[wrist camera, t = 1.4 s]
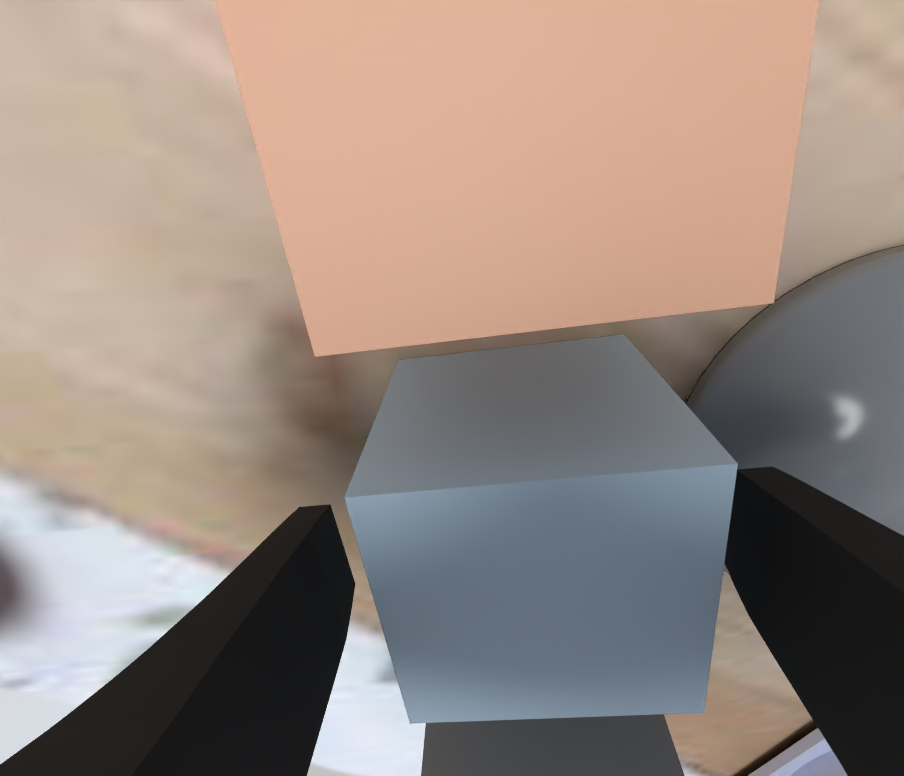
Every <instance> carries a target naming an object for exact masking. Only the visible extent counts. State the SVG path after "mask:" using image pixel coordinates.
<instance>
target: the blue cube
mask: <svg viewBox="0 0 904 776" xmlns="http://www.w3.org/2000/svg"><path fill="white" fill-rule="evenodd" d="M737 467H738V463H737V462H736V461H735V460H734V459H733V458H732V456H731V455H730V454H729V453H728V452H727V451H726V450H725V448H724V447H723V446H722V445H721V444H720V443H719V442H718V440H717V439H716V438H715V437H714V436H713V435H712V434H711V432H710V431H709V430H708V429H707V428H706V427H705V426H704V424H703V423H702V422H701V421H700V420H699V419H698V418H697V416H696V415H695V414H694V413H693V412H692V411H691V410H690V408H689V407H688V406H687V405H686V404H685V403H684V402H683V401H682V399H681V398H680V397H679V396H678V395H677V394H676V393H675V391H674V390H673V389H672V388H671V387H670V386H669V385H668V383H667V382H666V381H665V380H664V379H663V378H662V377H661V375H660V374H659V373H658V372H657V371H656V370H655V369H654V367H653V366H652V365H651V364H650V363H649V362H648V361H647V359H646V358H645V357H644V356H643V355H642V354H641V353H640V351H639V350H638V349H637V348H636V347H635V346H634V345H633V343H632V342H631V341H630V340H629V339H628V338H627V337H626V335H625V334H620V335H611V336H602V337H594V338H585V339H576V340H567V341H559V342H550V343H541V344H533V345H524V346H515V347H506V348H498V349H489V350H480V351H471V352H463V353H454V354H445V355H437V356H428V357H419V358H410V359H402V360H398V362H397V365H396V367H395V370H394V373H393V375H392V378H391V380H390V383H389V385H388V388H387V390H386V393H385V395H384V398H383V400H382V403H381V405H380V408H379V411H378V413H377V416H376V418H375V421H374V423H373V426H372V428H371V431H370V433H369V436H368V438H367V441H366V443H365V446H364V449H363V451H362V454H361V456H360V459H359V461H358V464H357V466H356V469H355V471H354V474H353V476H352V479H351V481H350V484H349V487H348V489H347V492H346V494H345V497H344V499H345V503H346V506H347V509H348V513H349V516H350V520H351V523H352V526H353V530H354V533H355V537H356V540H357V544H358V547H359V550H360V554H361V557H362V561H363V564H364V568H365V571H366V574H367V578H368V581H369V585H370V588H371V591H372V595H373V598H374V602H375V605H376V609H377V612H378V615H379V619H380V622H381V626H382V629H383V633H384V636H385V639H386V643H387V646H388V650H389V653H390V656H391V660H392V663H393V667H394V670H395V674H396V677H397V680H398V684H399V687H400V691H401V694H402V698H403V701H404V704H405V708H406V711H407V715H408V718H409V721H410V723H436V722H464V721H491V720H519V719H546V718H573V717H601V716H628V715H656V714H683V713H704V708H705V701H706V693H707V686H708V679H709V671H710V664H711V657H712V649H713V642H714V635H715V628H716V620H717V613H718V606H719V598H720V591H721V584H722V576H723V569H724V562H725V554H726V547H727V540H728V532H729V525H730V518H731V510H732V503H733V496H734V488H735V481H736V474H737Z"/></svg>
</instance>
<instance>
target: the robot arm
mask: <svg viewBox="0 0 904 776" xmlns="http://www.w3.org/2000/svg"><path fill="white" fill-rule="evenodd" d="M724 563H725V565H726V568H727V570H728V572H729V574H730V577H731V579H732V581H733V583H734V586H735V588H736V590H737V592H738V594H739V596H740V598H741V600H742V602H743V604H744V606H745V609H746V611H747V613H748V615H749V617H750V618H751V620H752V622H753V623H754V625H755V627H756V628H757V630H758V632H759V633H760V635H761V636H762V638H763V640H764V641H765V643H766V645H767V646H768V648H769V650H770V651H771V653H772V654H773V656H774V658H775V659H776V661H777V663H778V664H779V666H780V667H781V669H782V671H783V672H784V674H785V675H786V677H787V679H788V680H789V682H790V683H791V685H792V687H793V688H794V690H795V691H796V693H797V695H798V696H799V698H800V699H801V701H802V703H803V704H804V706H805V707H806V709H807V711H808V712H809V714H810V716H811V717H812V719H813V720H814V722H815V724H816V725H817V727H818V728H817V729H815V730H814V731H812V732H811V733H809V734H808V735H806V736H805V737H803V738H802V739H801V740H799V741H798V742H796V743H795V744H793V745H792V746H790V747H789V748H787V749H786V750H785V751H783V752H782V753H780V754H779V755H777V756H776V757H774V758H773V759H771V760H770V761H768V762H767V763H766V764H764V765H763V766H761V767H760V768H758V769H757V770H755V771H754V772H752V773H751V774H750V775H748V776H904V536H903V535H901V534H899V533H897V532H896V531H894V530H892V529H890V528H888V527H886V526H884V525H883V524H881V523H879V522H877V521H875V520H873V519H871V518H870V517H868V516H866V515H864V514H862V513H860V512H858V511H857V510H855V509H853V508H851V507H849V506H847V505H846V504H844V503H842V502H840V501H838V500H836V499H835V498H833V497H831V496H829V495H827V494H825V493H823V492H822V491H820V490H818V489H816V488H814V487H812V486H810V485H809V484H807V483H805V482H803V481H801V480H799V479H797V478H795V477H793V476H791V475H789V474H787V473H785V472H783V471H781V470H779V469H777V468H775V467H773V466H770V467H758V468H747V469H737V474H736V481H735V488H734V496H733V503H732V510H731V518H730V525H729V532H728V540H727V547H726V554H725V562H724ZM354 589H355V582H354V578H353V575H352V572H351V569H350V566H349V562H348V559H347V556H346V553H345V550H344V546H343V543H342V540H341V537H340V534H339V530H338V527H337V524H336V521H335V518H334V514H333V511H332V508H331V505H319V506H308V507H299V508H298V509H297V510H296V511H295V512H293V513H292V514H291V515H290V516H289V517H288V518H287V519H286V520H285V521H284V522H283V523H282V524H281V525H280V526H279V527H277V528H276V529H275V530H274V531H273V532H272V533H271V534H270V535H269V536H268V537H267V538H266V539H265V540H264V541H263V542H262V543H261V544H260V545H259V546H258V547H257V548H256V549H255V550H254V551H253V552H252V553H251V554H250V555H249V556H248V557H247V558H246V559H245V560H244V561H243V562H242V563H241V564H240V565H239V566H238V567H237V568H236V569H235V570H233V571H232V572H231V573H230V574H229V575H228V576H227V577H226V578H225V579H224V580H223V581H222V582H221V583H220V584H219V585H218V586H217V587H216V588H215V589H214V590H213V591H212V592H211V593H210V594H209V595H207V596H206V597H205V598H204V599H203V600H202V601H201V602H200V603H199V604H198V605H197V606H195V607H194V608H193V609H192V610H191V611H190V612H189V613H188V614H187V615H185V616H184V617H183V618H182V619H181V620H180V621H179V622H178V623H177V624H175V625H174V626H173V627H172V628H171V629H170V630H169V631H168V632H167V633H165V634H164V635H163V636H162V637H161V638H160V639H159V640H158V641H157V642H155V643H154V644H153V645H152V646H151V647H150V648H149V649H148V650H147V651H145V652H144V653H143V654H142V655H141V656H140V657H138V658H137V659H136V660H135V661H134V662H132V663H131V664H130V665H129V666H128V667H126V668H125V669H124V670H123V671H122V672H120V673H119V674H118V675H117V676H116V677H114V678H113V679H112V680H111V681H110V682H108V683H107V684H106V685H105V686H103V687H102V688H101V689H100V690H98V691H97V692H96V693H95V694H93V695H92V696H91V697H89V698H88V699H87V700H86V701H84V702H83V703H82V704H81V705H79V706H78V707H77V708H76V709H74V710H73V711H72V712H71V713H69V714H68V715H67V716H66V717H64V718H63V719H62V720H60V721H59V722H58V723H56V724H55V725H54V726H53V727H51V728H50V729H49V730H47V731H46V732H44V733H43V734H42V735H40V736H39V737H38V738H36V739H35V740H33V741H32V742H31V743H29V744H28V745H27V746H25V747H24V748H23V749H21V750H20V751H18V752H17V753H16V754H14V755H13V756H11V757H10V758H9V759H7V760H6V761H5V762H3V763H2V764H0V776H307V773H308V769H309V766H310V763H311V759H312V756H313V752H314V749H315V745H316V742H317V739H318V735H319V732H320V728H321V725H322V722H323V718H324V715H325V711H326V708H327V704H328V701H329V698H330V694H331V691H332V687H333V684H334V680H335V677H336V673H337V670H338V666H339V663H340V659H341V656H342V652H343V649H344V645H345V641H346V637H347V632H348V626H349V620H350V615H351V609H352V602H353V596H354Z"/></svg>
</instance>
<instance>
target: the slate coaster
mask: <svg viewBox="0 0 904 776" xmlns="http://www.w3.org/2000/svg"><path fill="white" fill-rule="evenodd" d="M686 405H687V406H688V407H689V408H690V410H691V411H692V412H693V413H694V414H695V415H696V416H697V418H698V419H699V420H700V421H701V422H702V423H703V424H704V426H705V427H706V428H707V429H708V430H709V431H710V432H711V434H712V435H713V436H714V437H715V438H716V439H717V440H718V442H719V443H720V444H721V445H722V446H723V447H724V448H725V450H726V451H727V452H728V453H729V454H730V455H731V456H732V458H733V459H734V460H735V461H736V462H737V463H738V467H737V469H747V468H758V467H770V466H773V467H775V468H777V469H779V470H781V471H783V472H785V473H787V474H789V475H791V476H793V477H795V478H797V479H799V480H801V481H803V482H805V483H807V484H809V485H810V486H812V487H814V488H816V489H818V490H820V491H822V492H823V493H825V494H827V495H829V496H831V497H833V498H835V499H836V500H838V501H840V502H842V503H844V504H846V505H847V506H849V507H851V508H853V509H855V510H857V511H858V512H860V513H862V514H864V515H866V516H868V517H870V518H871V519H873V520H875V521H877V522H879V523H881V524H883V525H884V526H886V527H888V528H890V529H892V530H894V531H896V532H897V533H899V534H901V535H903V536H904V245H903V246H899V247H894V248H890V249H886V250H882V251H878V252H875V253H872V254H869V255H866V256H863V257H861V258H858V259H855V260H852V261H849V262H846V263H844V264H842V265H839V266H837V267H835V268H833V269H831V270H829V271H827V272H825V273H822V274H820V275H818V276H816V277H814V278H812V279H810V280H809V281H807V282H805V283H804V284H802V285H800V286H799V287H797V288H795V289H794V290H792V291H790V292H789V293H787V294H785V295H784V296H782V297H781V298H780V299H778V300H777V301H776V302H774V303H773V304H772V305H770V306H769V307H767V308H766V309H765V310H763V311H762V312H761V313H759V314H758V315H757V316H756V317H755V318H754V319H752V320H751V321H750V322H749V323H748V324H747V325H746V326H745V327H744V328H742V329H741V330H740V331H739V332H738V333H737V334H736V335H735V336H734V337H733V338H732V339H731V340H730V341H729V342H728V344H727V345H726V346H725V347H724V348H723V349H722V350H721V351H720V353H719V354H718V355H717V356H716V357H715V358H714V360H713V361H712V362H711V364H710V365H709V367H708V368H707V369H706V371H705V372H704V374H703V375H702V376H701V378H700V379H699V381H698V383H697V384H696V386H695V388H694V390H693V392H692V394H691V395H690V397H689V399H688V401H687V403H686ZM723 570H724V571H725V572H726V573H728V574H729V572H728V570H727V568H726V565H725V563H724V569H723ZM729 575H730V574H729Z"/></svg>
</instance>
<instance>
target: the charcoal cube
mask: <svg viewBox="0 0 904 776" xmlns="http://www.w3.org/2000/svg"><path fill="white" fill-rule="evenodd" d="M421 776H684V773H683V770H682V767H681V764H680V761H679V758H678V756H677V753H676V750H675V747H674V744H673V741H672V738H671V735H670V732H669V729H668V726H667V723H666V720H665V717H664V714H656V715H628V716H601V717H573V718H546V719H519V720H491V721H464V722H436V723H426V728H425V739H424V750H423V761H422V772H421Z"/></svg>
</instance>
